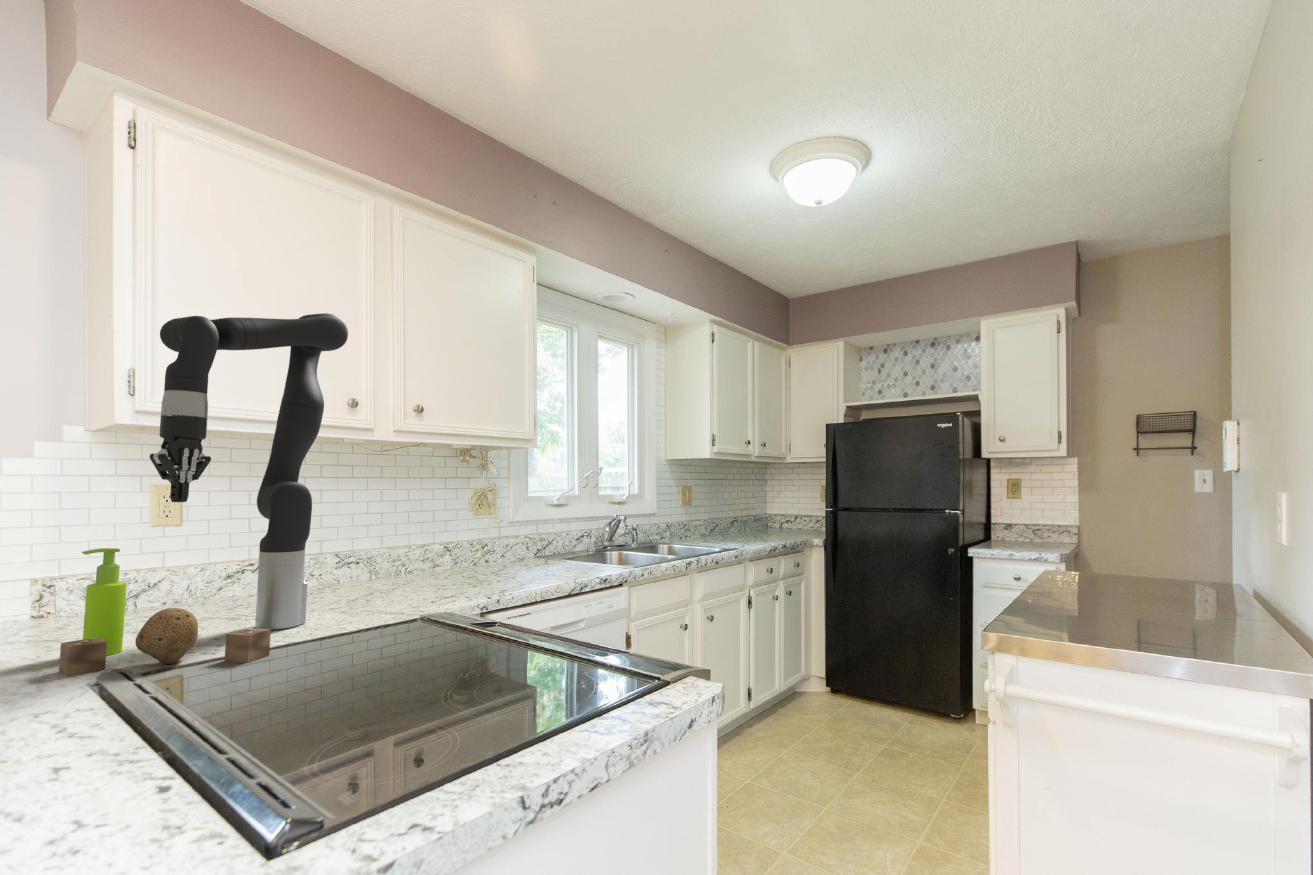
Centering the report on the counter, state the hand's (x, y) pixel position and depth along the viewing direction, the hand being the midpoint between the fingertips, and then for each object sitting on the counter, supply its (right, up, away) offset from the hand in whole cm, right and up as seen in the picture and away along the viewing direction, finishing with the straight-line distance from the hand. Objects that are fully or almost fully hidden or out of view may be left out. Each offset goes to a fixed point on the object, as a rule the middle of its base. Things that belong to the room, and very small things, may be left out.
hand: (178, 502), depth 126 cm
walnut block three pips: (-5, -28, -15) cm, 32 cm away
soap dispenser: (-12, -29, -4) cm, 32 cm away
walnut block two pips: (+18, -29, -6) cm, 34 cm away
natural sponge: (+6, -29, -11) cm, 31 cm away
